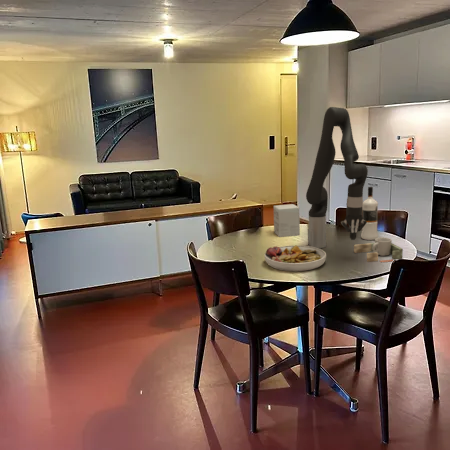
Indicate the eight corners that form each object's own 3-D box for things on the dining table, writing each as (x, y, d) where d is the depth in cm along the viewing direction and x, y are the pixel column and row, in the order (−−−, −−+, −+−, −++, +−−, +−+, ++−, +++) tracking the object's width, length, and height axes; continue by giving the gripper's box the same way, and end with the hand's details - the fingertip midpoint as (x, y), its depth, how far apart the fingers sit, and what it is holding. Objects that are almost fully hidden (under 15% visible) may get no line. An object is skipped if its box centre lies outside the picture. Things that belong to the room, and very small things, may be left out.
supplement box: (294, 230, 280) (293, 203, 276) (300, 235, 267) (299, 207, 263) (273, 232, 278) (272, 205, 274) (279, 237, 266) (278, 209, 262)
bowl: (326, 254, 227) (326, 240, 225) (325, 274, 199) (325, 258, 197) (269, 254, 234) (268, 239, 233) (260, 272, 206) (259, 256, 204)
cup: (378, 258, 215) (379, 243, 213) (366, 255, 222) (367, 239, 220) (394, 255, 220) (395, 239, 218) (382, 251, 227) (383, 236, 225)
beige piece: (368, 261, 212) (368, 252, 211) (353, 252, 228) (353, 242, 227) (402, 258, 214) (402, 248, 212) (385, 249, 230) (385, 240, 229)
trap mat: (381, 262, 210) (381, 262, 210) (379, 261, 212) (379, 260, 212) (395, 261, 210) (395, 260, 210) (392, 259, 213) (392, 259, 213)
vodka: (366, 235, 258) (367, 185, 252) (380, 237, 252) (382, 186, 245) (358, 239, 252) (358, 187, 245) (373, 241, 246) (374, 188, 239)
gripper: (344, 207, 209) (342, 242, 213) (370, 206, 210) (368, 240, 214) (338, 204, 216) (337, 238, 221) (364, 203, 217) (362, 236, 222)
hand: (352, 239), depth 217 cm, fingers closed
